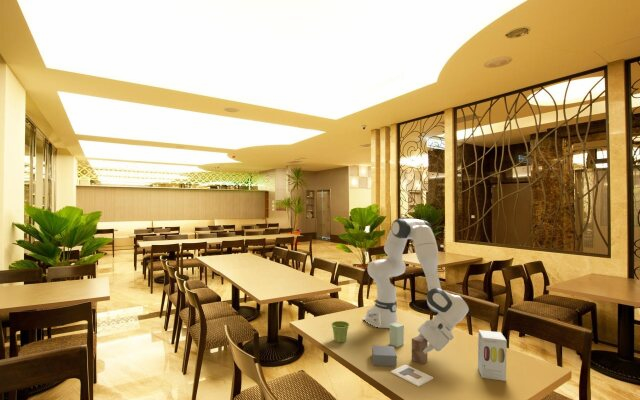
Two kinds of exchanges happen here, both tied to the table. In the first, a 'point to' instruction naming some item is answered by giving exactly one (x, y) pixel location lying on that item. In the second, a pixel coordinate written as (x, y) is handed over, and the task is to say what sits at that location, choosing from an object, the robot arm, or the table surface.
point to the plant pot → (340, 330)
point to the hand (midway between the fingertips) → (419, 347)
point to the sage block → (396, 334)
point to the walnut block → (419, 349)
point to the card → (412, 375)
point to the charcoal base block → (384, 355)
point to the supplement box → (492, 355)
